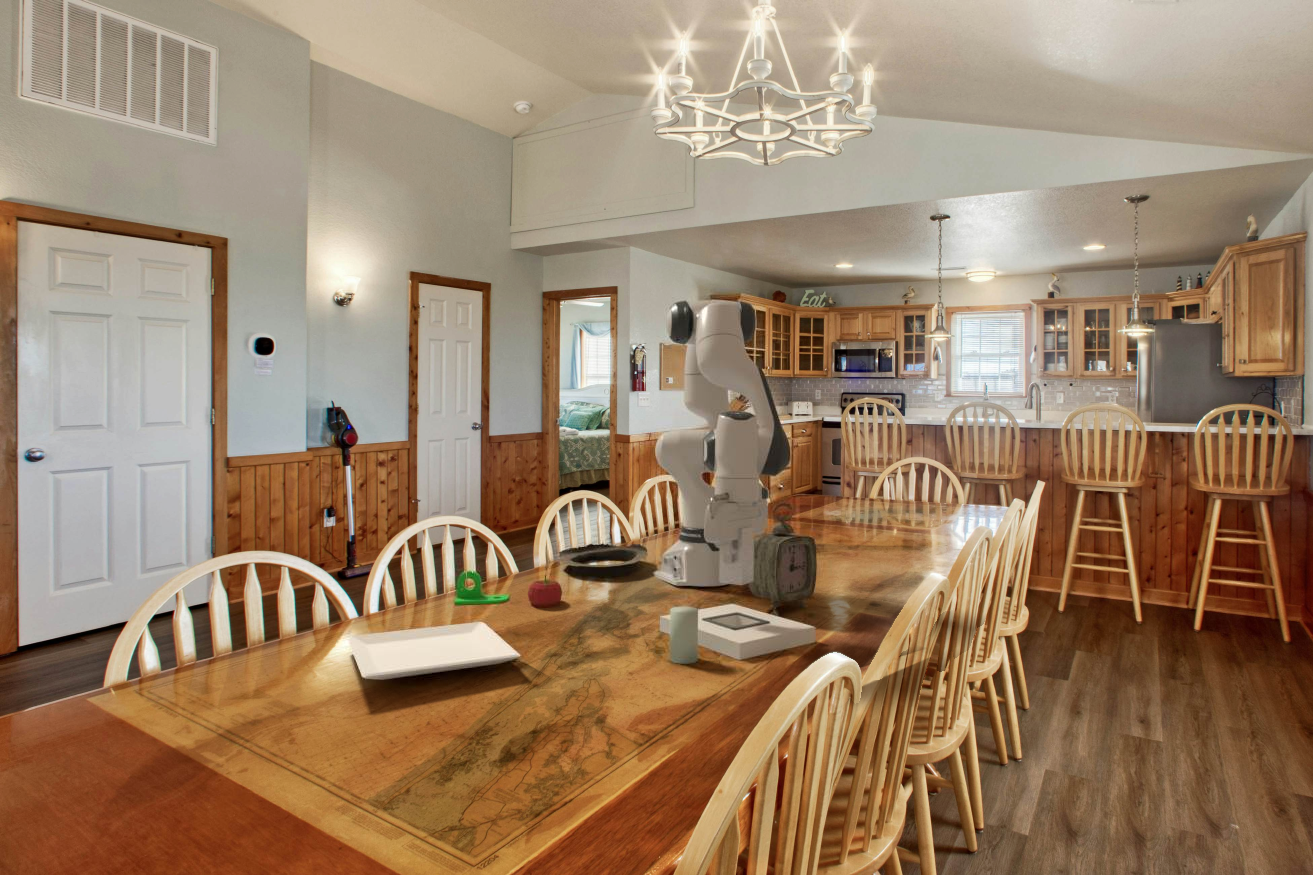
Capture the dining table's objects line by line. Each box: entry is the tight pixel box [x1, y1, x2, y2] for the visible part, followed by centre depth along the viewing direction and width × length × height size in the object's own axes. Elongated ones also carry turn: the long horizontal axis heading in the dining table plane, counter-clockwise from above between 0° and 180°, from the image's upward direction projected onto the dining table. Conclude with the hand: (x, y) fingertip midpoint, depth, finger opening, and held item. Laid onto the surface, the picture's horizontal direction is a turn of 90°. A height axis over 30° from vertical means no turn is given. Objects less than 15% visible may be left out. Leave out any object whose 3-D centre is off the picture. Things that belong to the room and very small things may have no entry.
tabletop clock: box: [748, 502, 818, 617], centre depth 171 cm, size 14×9×25 cm, turn 131°
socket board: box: [659, 603, 816, 661], centre depth 151 cm, size 24×20×3 cm
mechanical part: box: [453, 569, 510, 606], centre depth 176 cm, size 12×6×8 cm, turn 98°
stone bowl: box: [557, 543, 649, 578], centre depth 205 cm, size 25×25×9 cm
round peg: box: [669, 606, 699, 665], centre depth 135 cm, size 5×5×9 cm
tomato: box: [527, 574, 563, 608], centre depth 174 cm, size 8×8×8 cm
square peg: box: [719, 526, 755, 586], centre depth 150 cm, size 5×5×11 cm
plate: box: [346, 621, 522, 680], centre depth 137 cm, size 26×26×2 cm
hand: (736, 561), depth 150 cm, fingers closed on square peg, 5 cm apart
